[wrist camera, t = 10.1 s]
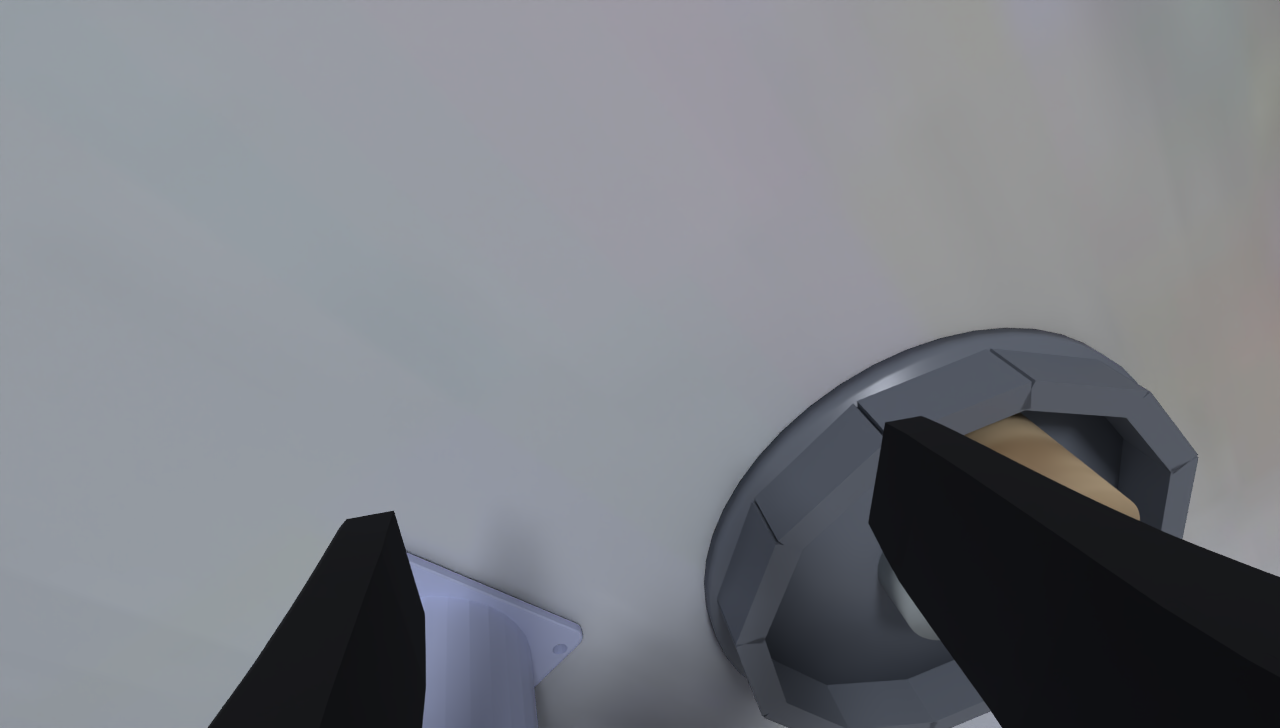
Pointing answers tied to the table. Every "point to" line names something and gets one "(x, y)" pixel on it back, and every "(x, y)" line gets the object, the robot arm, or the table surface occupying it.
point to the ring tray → (848, 550)
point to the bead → (1050, 460)
